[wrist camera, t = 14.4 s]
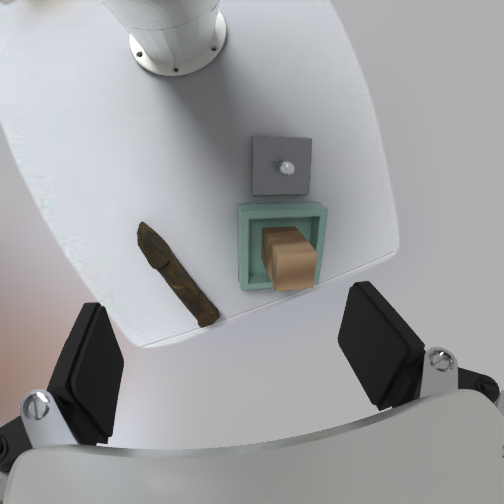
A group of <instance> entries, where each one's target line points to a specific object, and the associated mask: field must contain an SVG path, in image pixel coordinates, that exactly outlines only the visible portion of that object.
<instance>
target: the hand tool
mask: <svg viewBox="0 0 504 504" xmlns="http://www.w3.org/2000/svg"><path fill="white" fill-rule="evenodd" d="M137 237H138V246H139V247H140V249H141V251H142V252H143V254H144V255H145V257H146V259H147V261H148V262H149V264H150V265H151V267H152V268H153V269H157V270H158V272H159V273H160V274H161V275H162V276H163V278H164V279H165V280H166V282H167V283H168V285H169V286H170V287H171V289H172V290H173V291H174V292H175V294H176V295H177V296H178V298H179V299H180V300H181V301H182V302H183V304H184V305H185V306H186V307H187V309H188V310H189V311H190V312H191V313H192V314H193V316H194V317H195V318H196V319H197V321H198V325H199V326H200V327H202V328H203V327H206V326H209V325H212V324H213V323H214V322H215V321H216V320H217V319H218V318H219V316H220V315H219V312H218V309H217V308H215V307H213V305H212V303H211V302H210V301H208V300H207V298H206V297H205V295H204V294H203V293H202V291H200V290H199V289H198V287H197V286H196V285H195V283H194V281H193V280H192V279H191V278H190V277H189V275H188V274H187V273H186V271H185V270H184V269H183V267H182V266H181V265H180V263H179V262H178V261H177V259H176V258H175V256H174V255H173V254H172V252H171V250H170V247H169V246H168V244H167V243H166V242H165V241H164V240H163V239H162V238H161V237H160V236H159V235H158V234H157V233H156V232H155V231H154V230H153V229H152V228H150V227H149V226H148V225H147V224H145V223H144V222H141V223H140V225H139V228H138V231H137Z"/></svg>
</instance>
